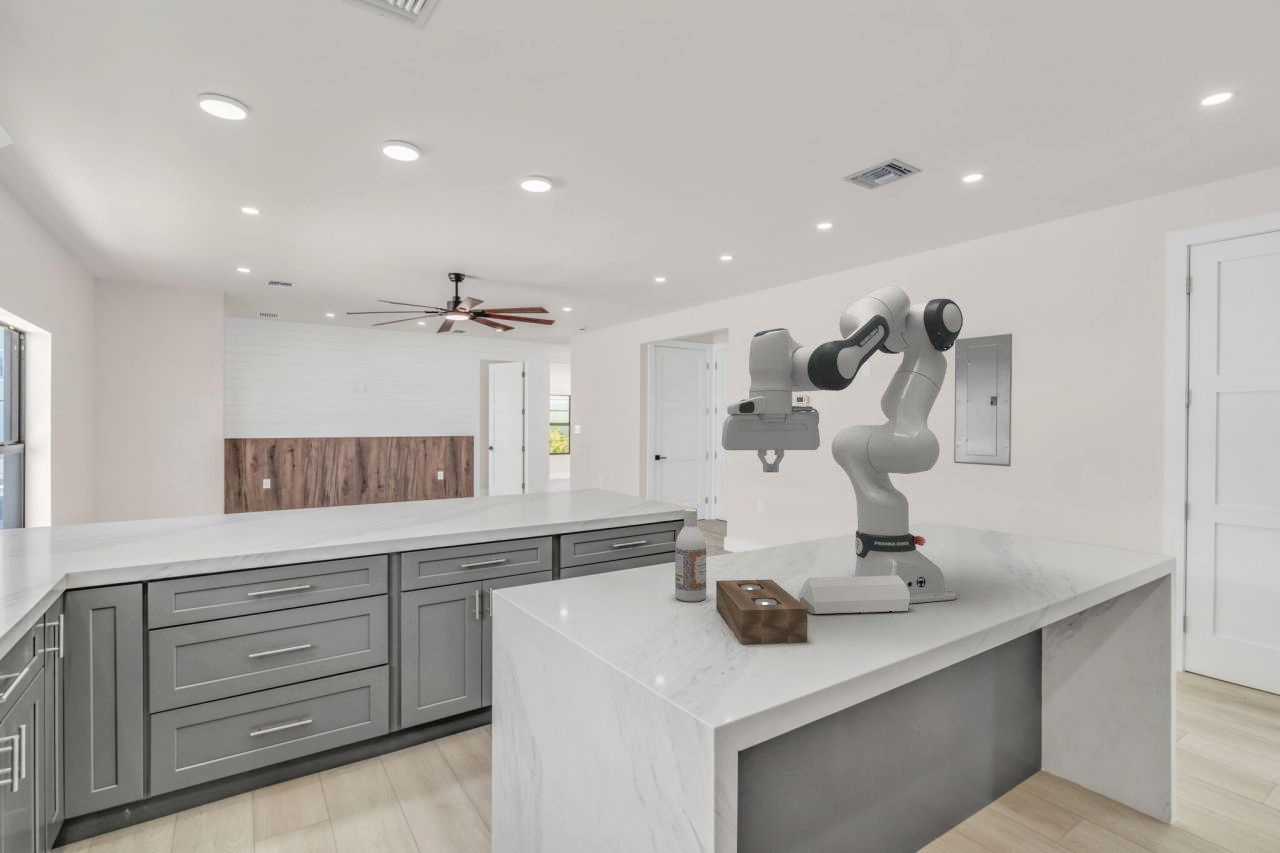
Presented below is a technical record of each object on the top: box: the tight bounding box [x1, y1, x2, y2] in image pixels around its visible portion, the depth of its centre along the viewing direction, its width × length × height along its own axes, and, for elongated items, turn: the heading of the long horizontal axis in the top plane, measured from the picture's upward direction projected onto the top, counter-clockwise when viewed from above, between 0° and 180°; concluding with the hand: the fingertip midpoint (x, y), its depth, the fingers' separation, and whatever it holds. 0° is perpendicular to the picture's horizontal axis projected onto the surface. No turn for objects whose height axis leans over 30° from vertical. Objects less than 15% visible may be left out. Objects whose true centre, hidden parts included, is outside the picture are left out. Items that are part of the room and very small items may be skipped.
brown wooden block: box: [715, 579, 808, 645], centre depth 123 cm, size 12×22×6 cm, turn 5°
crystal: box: [798, 576, 910, 615], centre depth 133 cm, size 7×7×24 cm
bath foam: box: [674, 508, 707, 603], centre depth 142 cm, size 7×7×20 cm
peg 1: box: [741, 584, 761, 590], centre depth 129 cm, size 4×4×6 cm
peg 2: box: [755, 599, 777, 605], centre depth 118 cm, size 4×4×6 cm
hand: (770, 472), depth 132 cm, fingers closed
